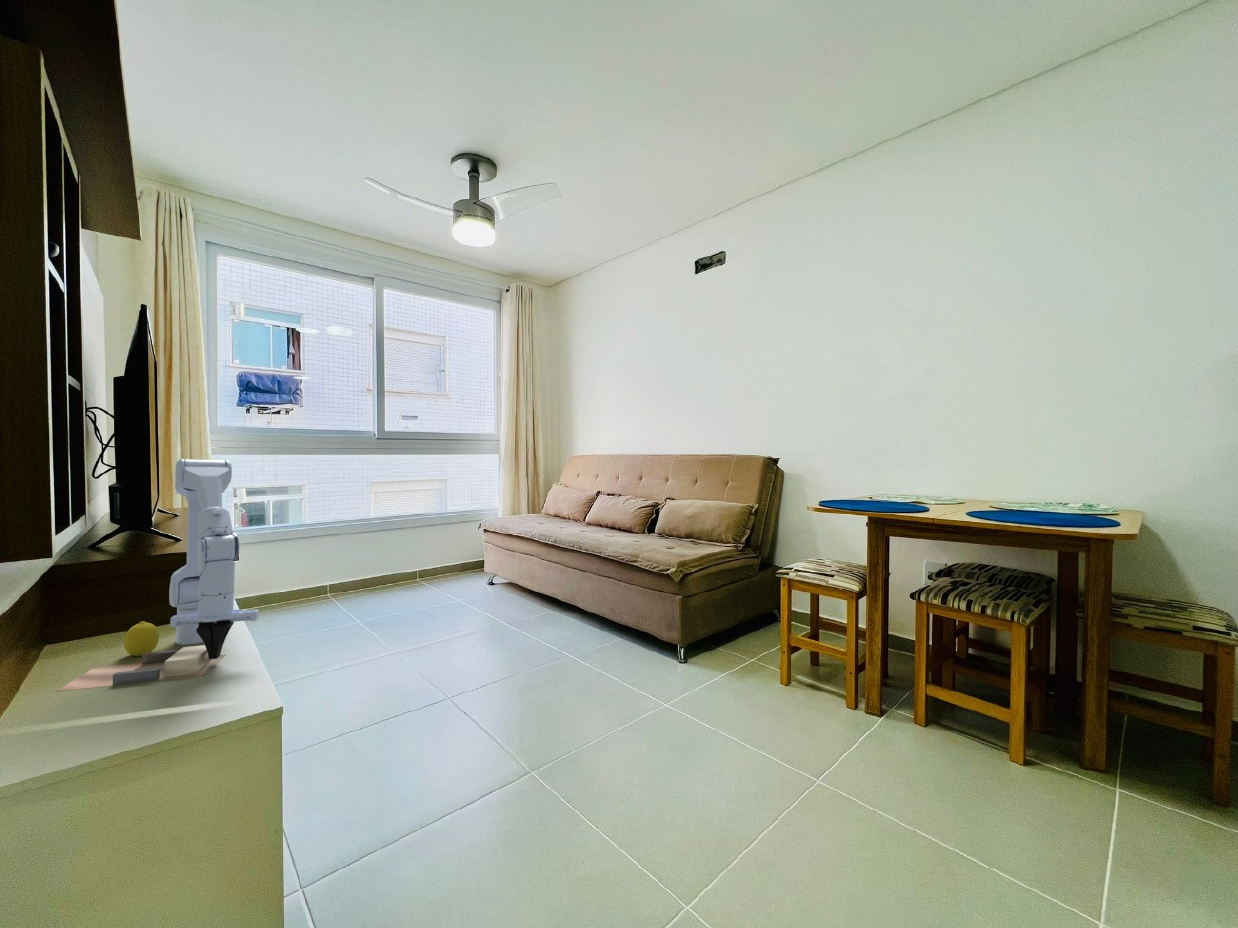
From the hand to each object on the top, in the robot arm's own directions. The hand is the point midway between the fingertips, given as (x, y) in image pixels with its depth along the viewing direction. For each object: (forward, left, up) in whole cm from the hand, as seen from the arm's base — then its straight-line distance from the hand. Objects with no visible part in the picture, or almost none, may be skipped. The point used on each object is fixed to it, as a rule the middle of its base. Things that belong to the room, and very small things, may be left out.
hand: (214, 657), depth 104 cm
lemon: (-12, -17, -2) cm, 21 cm away
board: (0, -11, -2) cm, 11 cm away
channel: (0, -11, -2) cm, 11 cm away
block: (0, -4, -2) cm, 4 cm away
